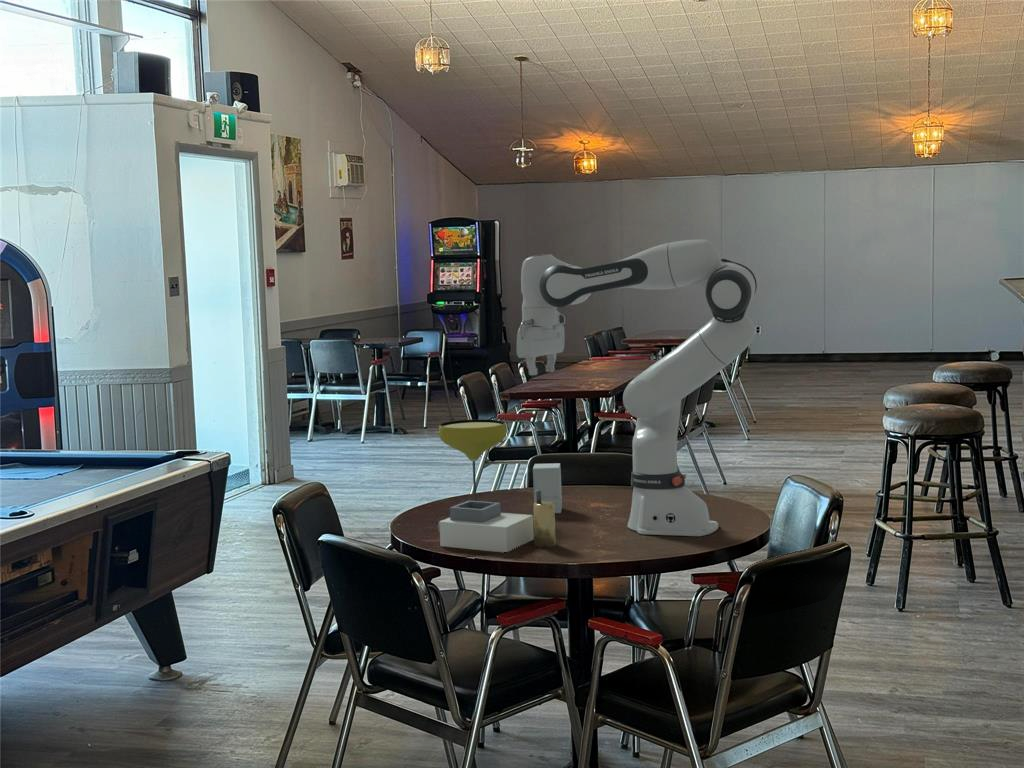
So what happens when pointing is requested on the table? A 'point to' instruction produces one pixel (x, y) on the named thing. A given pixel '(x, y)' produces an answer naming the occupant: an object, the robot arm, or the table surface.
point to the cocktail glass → (472, 438)
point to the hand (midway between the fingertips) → (541, 373)
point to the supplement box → (548, 484)
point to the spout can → (544, 522)
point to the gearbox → (485, 527)
